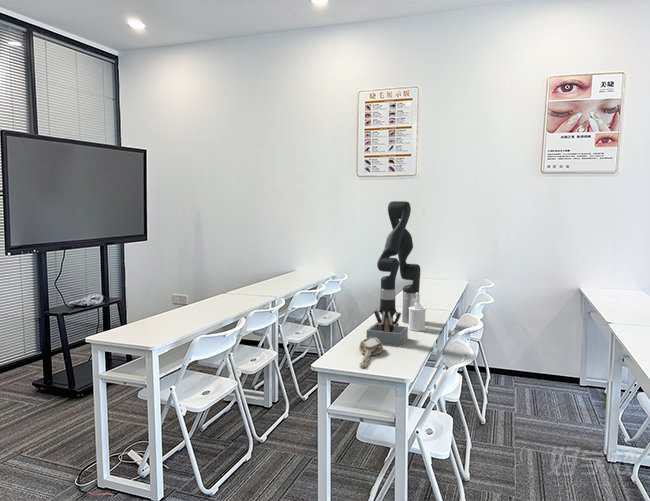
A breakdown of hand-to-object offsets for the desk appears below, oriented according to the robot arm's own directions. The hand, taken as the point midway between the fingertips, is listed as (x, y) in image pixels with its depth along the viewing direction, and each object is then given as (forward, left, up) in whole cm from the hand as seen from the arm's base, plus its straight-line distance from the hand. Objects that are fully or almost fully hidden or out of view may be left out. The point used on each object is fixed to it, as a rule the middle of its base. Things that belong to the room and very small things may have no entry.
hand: (387, 331), depth 241 cm
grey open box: (0, 0, -5) cm, 5 cm away
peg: (0, 0, -3) cm, 3 cm away
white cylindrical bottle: (-27, +9, -5) cm, 29 cm away
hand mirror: (+28, 0, -5) cm, 28 cm away
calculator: (-17, -6, -5) cm, 19 cm away
